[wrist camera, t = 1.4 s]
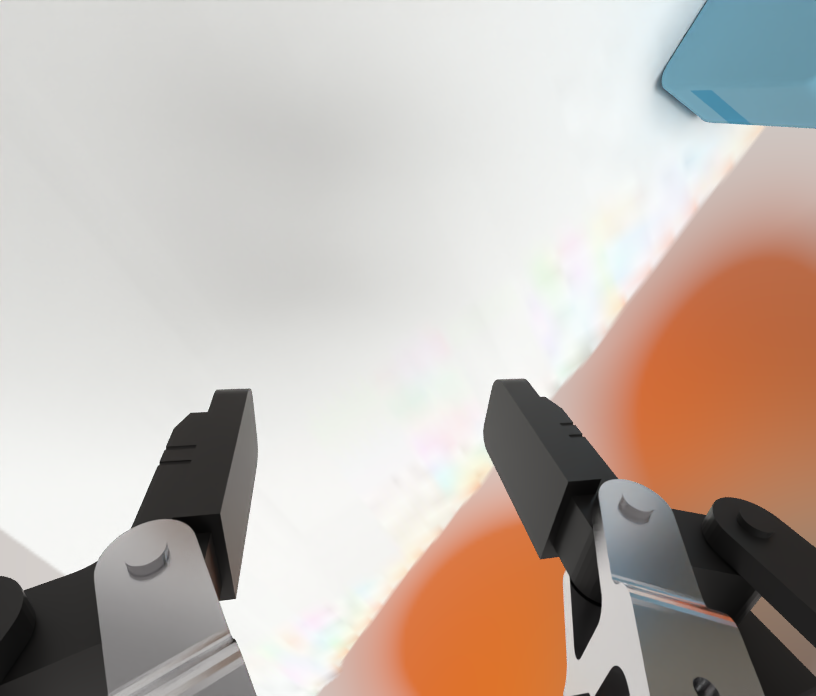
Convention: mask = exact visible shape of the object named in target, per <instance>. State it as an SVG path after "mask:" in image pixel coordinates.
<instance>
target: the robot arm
mask: <svg viewBox="0 0 816 696" xmlns="http://www.w3.org/2000/svg"><path fill="white" fill-rule="evenodd" d="M483 435H484V443H485V447H486V450H487V452H488V454H489V456H490V458H491V460H492V462H493V464H494V466H495V468H496V470H497V472H498V474H499V476H500V478H501V480H502V482H503V484H504V486H505V488H506V491H507V493H508V495H509V497H510V499H511V501H512V503H513V505H514V507H515V509H516V511H517V513H518V515H519V517H520V519H521V521H522V523H523V525H524V527H525V529H526V531H527V533H528V535H529V537H530V540H531V542H532V544H533V546H534V548H535V550H536V552H537V554H538V555H539V558H540V559H546V558H554V557H560V559H561V562H562V563H563V565H564V567H565V569H566V571H565V573H564V576H563V590H564V591H563V592H564V611H565V631H566V649H567V650H566V651H567V677H566V684H565V688H564V693H563V696H816V677H815V676H814V675H813V674H812V673H811V672H810V671H809V670H808V669H807V668H806V667H805V666H804V665H803V664H802V663H801V662H800V661H799V660H798V659H797V658H796V657H795V656H794V655H793V654H792V653H791V652H790V650H788V649H787V647H785V645H783V643H782V642H780V640H779V639H778V638H777V637H776V636H775V635H774V634H773V633H772V632H771V631H770V630H769V629H768V628H767V627H766V626H765V625H764V624H763V623H762V622H761V621H760V620H759V619H758V618H757V617H756V616H755V615H754V614H753V613H752V612H751V611H750V610H751V609H752V608H753V606H754V605H755V604H756V602H757V601H758V600H759V599H760V597H761V596H762V597H763V598H764V599H766V601H768V602H769V603H770V604H771V605H772V606H773V607H774V608H775V609H776V610H777V611H778V612H779V613H780V614H781V615H782V616H783V617H784V618H785V619H786V620H787V621H788V622H789V623H790V624H791V625H792V626H793V627H794V628H796V629H797V630H798V631H799V632H800V633H801V634H802V635H803V636H804V637H805V638H806V639H807V640H808V641H809V642H810V643H811V644H812V645H813V646H814V647H815V648H816V548H815V547H814V546H813V545H811V544H810V543H809V542H808V541H806V540H805V539H804V538H803V537H801V536H800V535H799V534H797V533H796V532H795V531H794V530H792V529H791V528H790V527H789V526H787V525H786V524H785V523H784V522H782V521H781V520H780V519H778V518H777V517H776V516H774V515H773V514H771V513H770V512H768V511H767V510H765V509H763V508H762V507H760V506H758V505H755V504H753V503H751V502H748V501H745V500H742V499H737V498H731V497H730V498H729V497H725V498H720V499H718V500H716V501H715V502H714V504H713V505H712V507H711V508H710V510H709V512H708V513H707V515H703V514H697V513H692V512H685V511H681V510H675V509H671V508H670V507H669V505H668V504H667V503H666V502H665V501H664V500H663V499H662V498H661V497H660V496H659V495H658V494H656V493H655V492H653V491H652V490H650V489H649V488H647V487H645V486H643V485H641V484H638V483H636V482H632V481H629V480H623V479H618V478H617V477H616V476H615V474H614V473H613V472H612V471H611V469H610V468H609V467H608V465H606V463H605V462H604V461H603V459H602V458H601V457H600V455H599V454H598V453H597V452H596V450H595V449H594V448H593V447H592V446H591V444H590V443H589V442H588V441H587V439H586V438H585V437H582V433H581V432H580V430H579V429H578V428H577V427H576V425H573V422H572V420H571V419H570V418H569V417H568V415H567V414H566V413H565V412H564V411H563V409H562V408H560V407H559V406H557V405H556V404H555V403H553V402H552V401H550V400H549V399H547V398H546V397H539V395H538V394H537V393H536V391H535V390H534V389H533V387H532V386H531V385H530V383H529V382H528V381H527V380H526V379H500V380H496V381H495V382H494V383H493V386H492V390H491V395H490V400H489V404H488V409H487V414H486V418H485V423H484V430H483ZM257 457H258V444H257V433H256V424H255V414H254V405H253V396H252V391H251V389H225V390H216V391H215V393H214V396H213V399H212V402H211V405H210V407H209V410H208V412H201V413H190V414H189V415H188V416H187V417H186V418H185V419H184V420H183V421H181V422H180V423H179V424H178V425H177V426H176V427H175V428H174V429H173V432H172V434H171V436H170V439H169V441H168V443H167V446H166V450H164V453H163V455H162V457H161V460H160V465H159V466H158V467H157V469H156V471H155V474H154V476H153V478H152V481H151V483H150V486H149V488H148V490H147V493H146V495H145V497H144V500H143V502H142V504H141V507H140V509H139V511H138V514H137V516H136V518H135V521H134V523H133V525H132V527H131V529H130V530H128V531H126V532H125V533H123V534H122V535H120V536H119V537H118V538H116V539H115V540H114V541H113V542H112V543H111V544H110V545H109V546H108V547H107V548H106V549H105V550H104V552H103V553H102V555H101V556H100V558H99V560H98V561H97V562H95V563H94V564H92V565H90V566H88V567H86V568H84V569H82V570H79V571H77V572H74V573H72V574H69V575H66V576H64V577H61V578H58V579H55V580H52V581H49V582H47V583H44V584H41V585H38V586H35V587H33V588H30V589H27V590H24V591H23V589H22V588H21V586H20V585H19V584H18V583H17V582H16V581H15V580H13V579H11V578H8V577H4V576H0V696H256V693H255V690H254V687H253V684H252V682H251V679H250V676H249V673H248V671H247V668H246V665H245V662H244V660H243V657H242V654H241V652H240V649H239V647H238V644H237V642H236V640H235V639H233V638H232V636H231V634H230V631H229V628H228V626H227V623H226V620H225V617H224V614H223V611H222V609H221V606H220V603H219V601H222V600H230V599H236V594H237V588H238V582H239V575H240V569H241V563H242V556H243V550H244V544H245V537H246V531H247V525H248V518H249V512H250V506H251V499H252V493H253V487H254V480H255V474H256V468H257Z"/></svg>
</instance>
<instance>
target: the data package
mask: <svg viewBox="0 0 816 696" xmlns="http://www.w3.org/2000/svg"><path fill="white" fill-rule="evenodd" d="M662 86H663V88H664V89H665V90H666V91H668V92H669V93H670V94H671V95H673V96H674V97H675V98H676V99H677V100H679V101H680V102H681V103H682V104H684V105H685V106H686V107H687V108H689V109H690V110H691V111H692V112H694V113H695V114H696V115H697V116H699V117H700V118H701V119H702V120H704V121H706V122H712V123H729V124H746V125H763V126H781V127H798V128H815V129H816V0H708V1H707V2H706V4H705V5H704V7H703V9H702V10H701V12H700V13H699V15H698V16H697V18H696V20H695V21H694V23H693V24H692V26H691V28H690V29H689V31H688V32H687V34H686V36H685V37H684V39H683V40H682V42H681V43H680V45H679V47H678V48H677V50H676V51H675V53H674V55H673V56H672V58H671V59H670V61H669V63H668V64H667V66H666V68H665V70H664V72H663V75H662Z"/></svg>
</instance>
